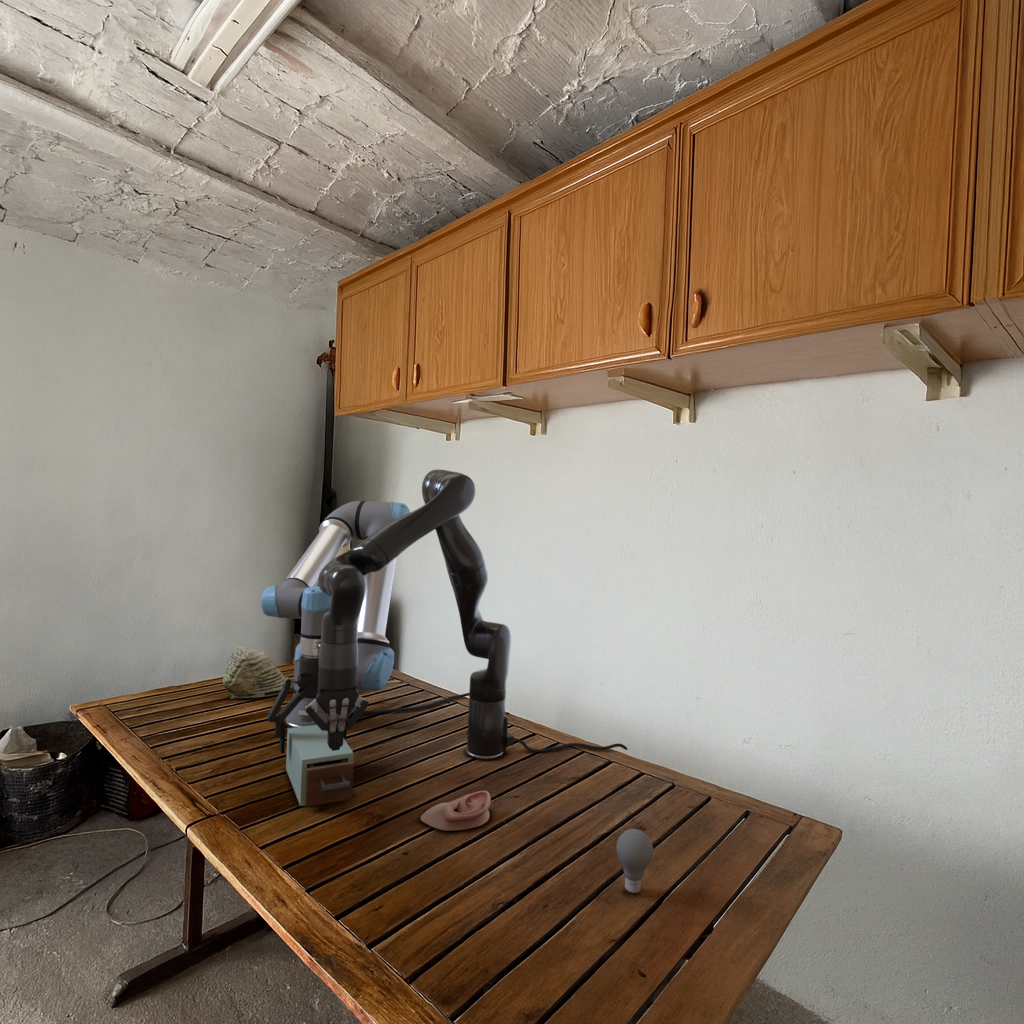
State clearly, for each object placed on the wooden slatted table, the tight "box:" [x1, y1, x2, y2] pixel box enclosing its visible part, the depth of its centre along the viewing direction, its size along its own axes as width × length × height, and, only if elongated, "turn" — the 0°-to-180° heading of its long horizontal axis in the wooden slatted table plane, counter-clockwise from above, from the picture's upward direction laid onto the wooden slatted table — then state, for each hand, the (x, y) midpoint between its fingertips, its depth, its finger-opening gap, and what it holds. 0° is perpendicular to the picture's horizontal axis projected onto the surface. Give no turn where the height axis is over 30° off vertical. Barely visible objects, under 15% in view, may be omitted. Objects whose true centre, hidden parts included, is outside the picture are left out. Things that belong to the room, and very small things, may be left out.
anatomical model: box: [419, 790, 492, 832], centre depth 127 cm, size 13×4×12 cm
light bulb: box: [615, 828, 654, 894], centre depth 106 cm, size 6×6×10 cm
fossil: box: [222, 646, 286, 699], centre depth 198 cm, size 9×18×15 cm, turn 132°
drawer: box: [304, 759, 355, 808], centre depth 135 cm, size 23×9×8 cm, turn 28°
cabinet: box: [285, 725, 354, 807], centre depth 140 cm, size 19×10×10 cm, turn 28°
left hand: (313, 747), depth 145 cm, fingers open, 13 cm apart
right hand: (335, 748), depth 127 cm, fingers closed
